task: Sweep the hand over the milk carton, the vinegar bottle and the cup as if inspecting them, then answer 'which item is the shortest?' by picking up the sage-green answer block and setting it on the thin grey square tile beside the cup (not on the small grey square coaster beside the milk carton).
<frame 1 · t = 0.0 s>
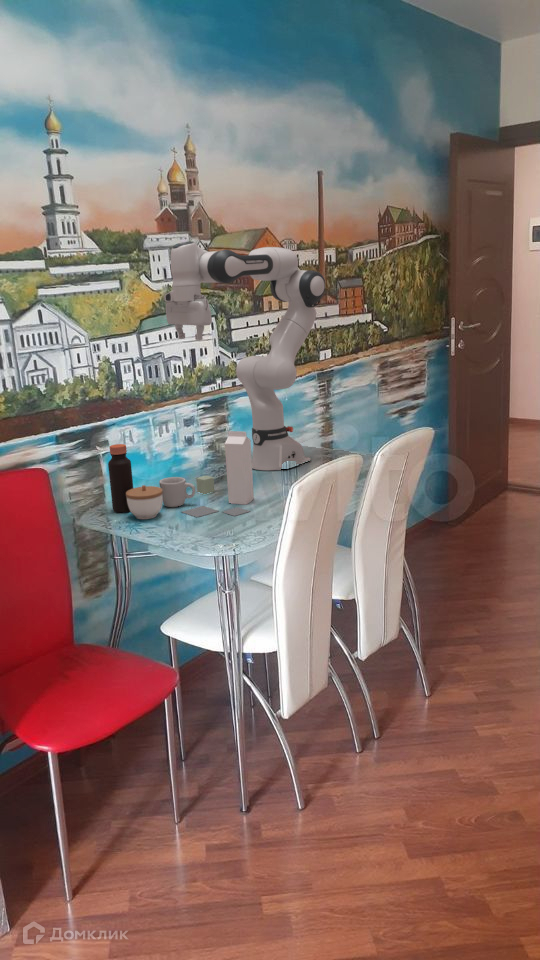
hand: (190, 339, 266), 48 cm above the table, tool pointing down, fingers open, 8 cm apart
thin grey square tile: (199, 511, 247), on the table
vinegar: (124, 510, 253), on the table
answer block: (206, 492, 268), on the table
milk: (241, 502, 256), on the table
cup: (179, 505, 255), on the table
grey square coaster: (236, 512, 245), on the table
lidded jar: (146, 516, 246), on the table
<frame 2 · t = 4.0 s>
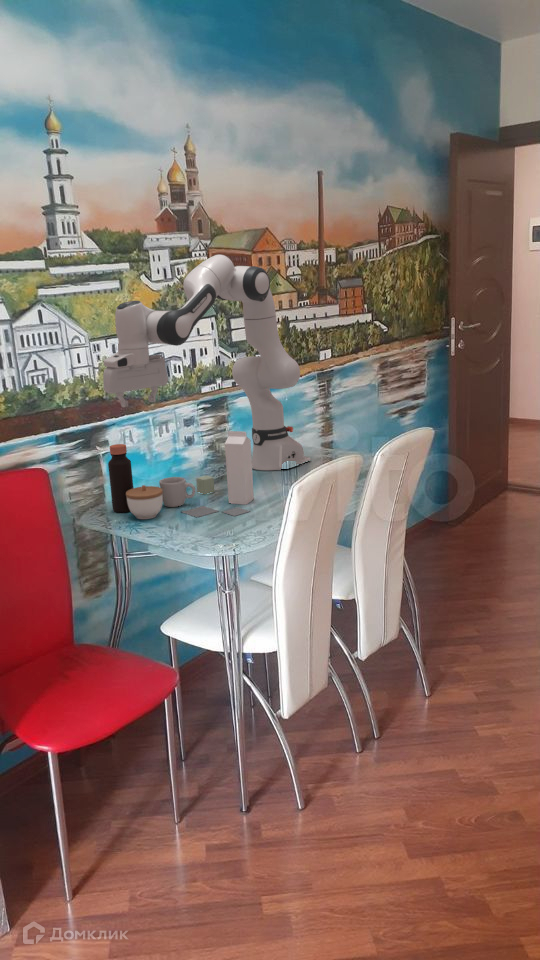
hand: (138, 404, 248), 32 cm above the table, tool pointing down, fingers open, 8 cm apart
nothing on the table moved.
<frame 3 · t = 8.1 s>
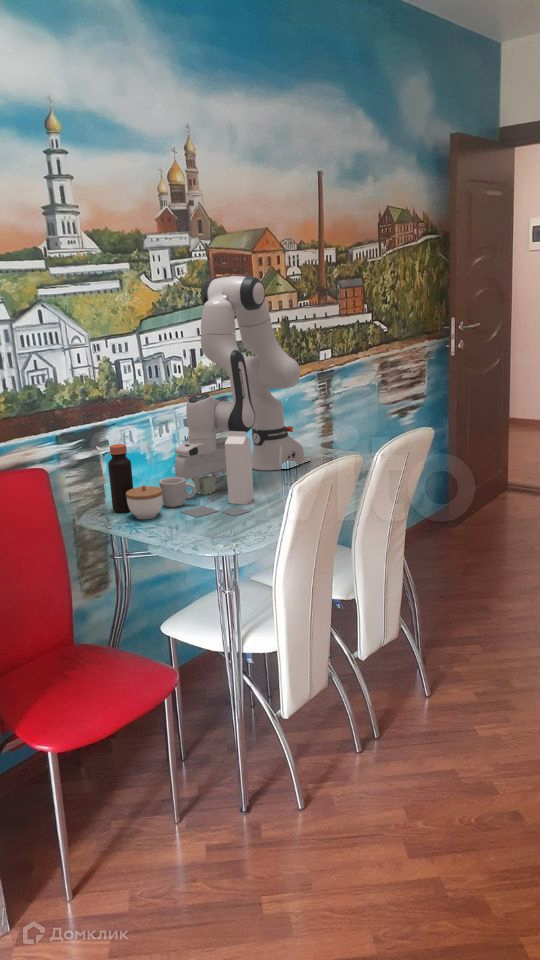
hand: (205, 487, 267), 2 cm above the table, tool pointing down, fingers closed on answer block, 4 cm apart
answer block: (206, 492, 268), on the table, touching gripper
everything else where it was.
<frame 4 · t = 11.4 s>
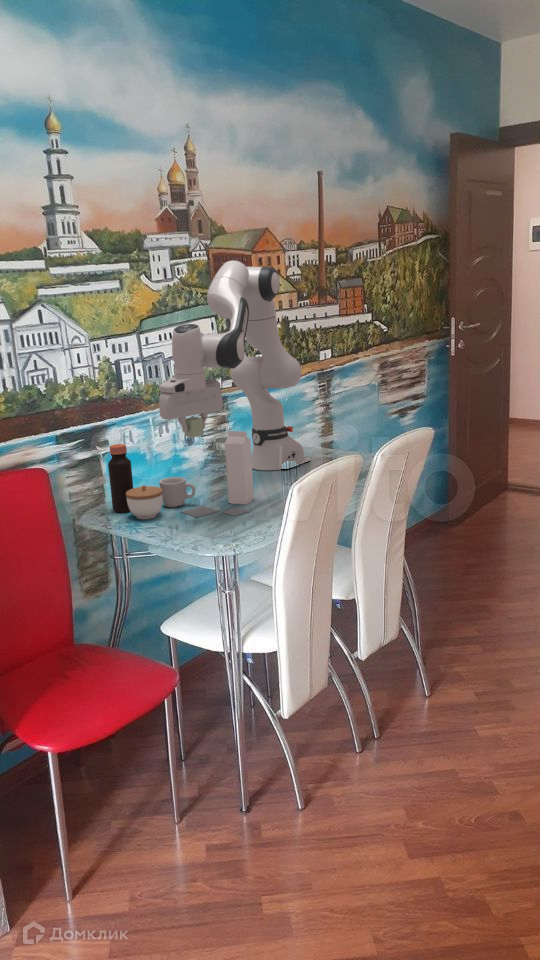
hand: (193, 430, 241), 25 cm above the table, tool pointing down, fingers closed on answer block, 4 cm apart
answer block: (194, 435, 241), point 23 cm above the table, touching gripper
everything else where it was.
when the fingers open (3 cm above the table, at t = 14.6 s): answer block drops 1 cm, resting on thin grey square tile.
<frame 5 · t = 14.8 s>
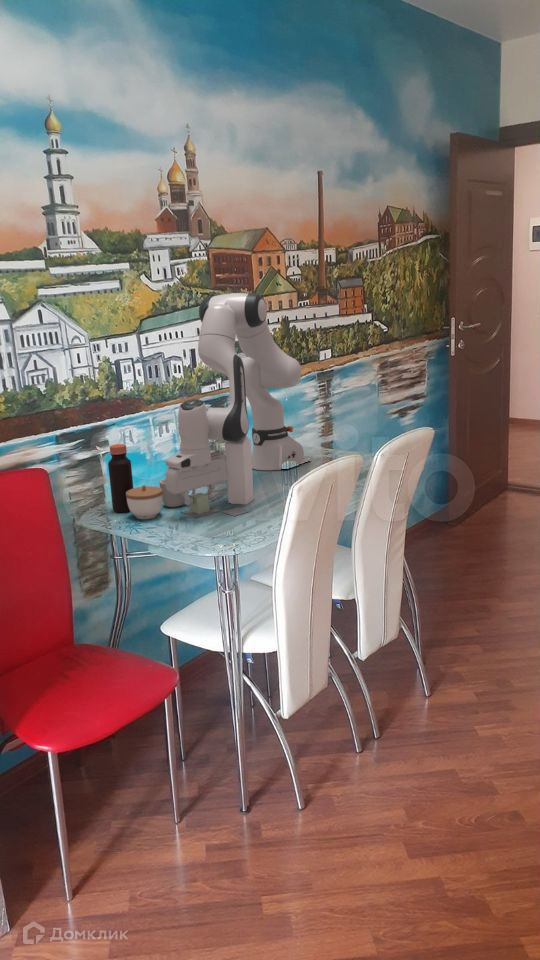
hand: (199, 501, 246), 3 cm above the table, tool pointing down, fingers open, 6 cm apart
answer block: (199, 511, 247), resting on thin grey square tile
milk: (241, 502, 256), on the table, touching arm
everything else where it was.
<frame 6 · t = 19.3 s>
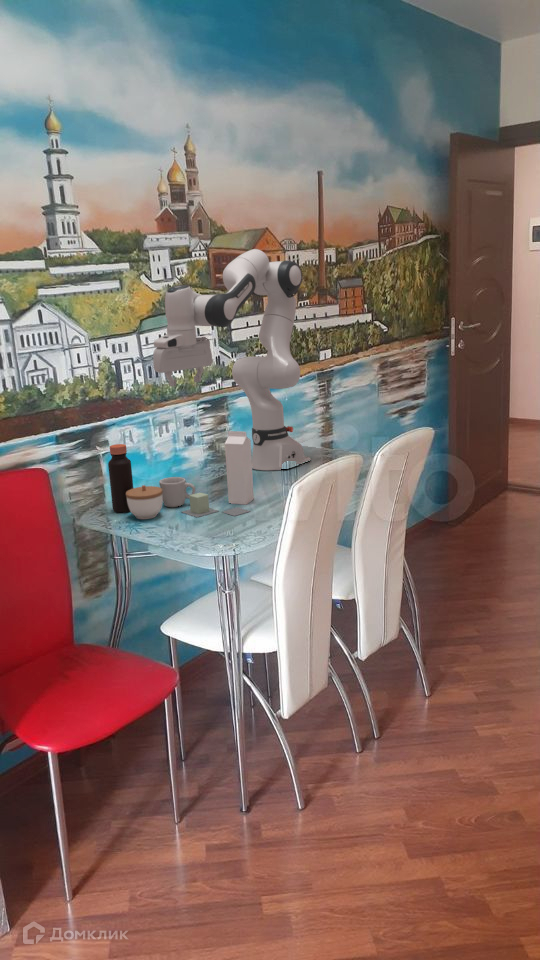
hand: (185, 383, 260), 35 cm above the table, tool pointing down, fingers open, 8 cm apart
milk: (241, 502, 256), on the table
everything else where it was.
at the end: answer block inside the target area on the thin grey square tile (0.0 cm from its centre), point 0.2 cm above the thin grey square tile's base; answer block 11.0 cm from the cup (horizontally); the gripper is holding nothing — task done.
